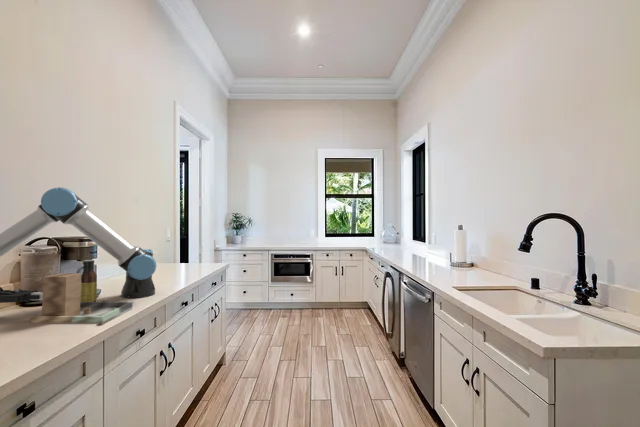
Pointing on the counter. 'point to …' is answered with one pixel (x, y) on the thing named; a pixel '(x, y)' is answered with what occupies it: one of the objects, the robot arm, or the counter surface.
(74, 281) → the walnut block
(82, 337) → the counter surface
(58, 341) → the counter surface
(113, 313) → the bay end wall
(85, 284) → the sauce bottle
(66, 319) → the grey flat tray
